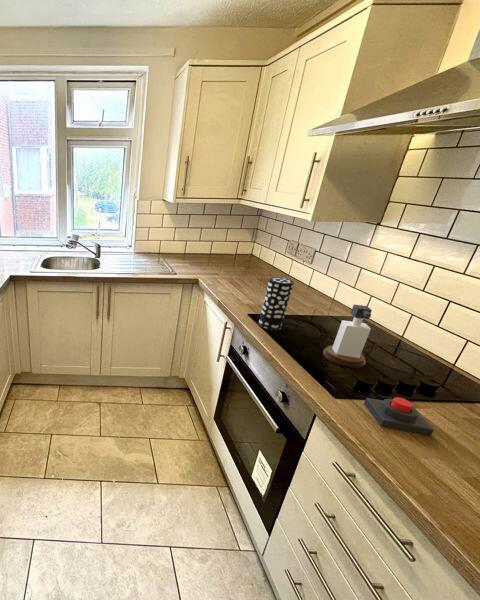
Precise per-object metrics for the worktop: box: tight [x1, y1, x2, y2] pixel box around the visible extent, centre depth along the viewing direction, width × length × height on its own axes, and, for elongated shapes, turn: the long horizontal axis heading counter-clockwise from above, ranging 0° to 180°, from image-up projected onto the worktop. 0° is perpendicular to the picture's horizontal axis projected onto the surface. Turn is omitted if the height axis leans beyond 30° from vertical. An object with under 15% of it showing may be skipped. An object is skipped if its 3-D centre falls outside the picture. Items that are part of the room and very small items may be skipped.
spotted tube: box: [257, 276, 295, 331], centre depth 128 cm, size 8×8×20 cm
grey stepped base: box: [363, 397, 435, 437], centre depth 82 cm, size 10×9×4 cm
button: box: [391, 396, 414, 413], centre depth 81 cm, size 4×4×2 cm
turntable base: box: [322, 347, 367, 369], centre depth 109 cm, size 12×12×1 cm
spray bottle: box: [325, 304, 373, 363], centre depth 105 cm, size 10×10×18 cm
